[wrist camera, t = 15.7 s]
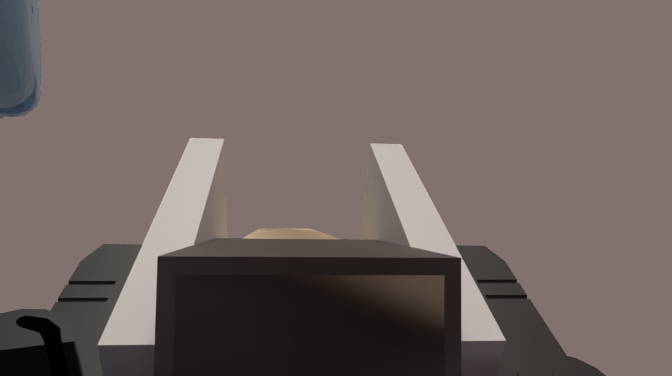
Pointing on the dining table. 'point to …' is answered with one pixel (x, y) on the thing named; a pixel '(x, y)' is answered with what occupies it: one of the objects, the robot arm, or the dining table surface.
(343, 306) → the wooden bar
